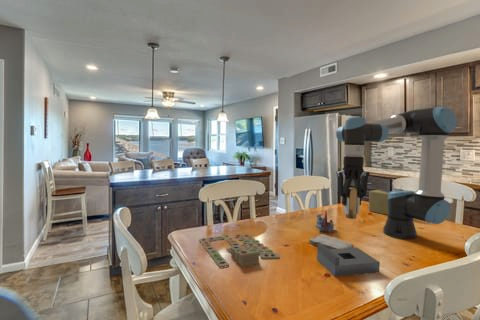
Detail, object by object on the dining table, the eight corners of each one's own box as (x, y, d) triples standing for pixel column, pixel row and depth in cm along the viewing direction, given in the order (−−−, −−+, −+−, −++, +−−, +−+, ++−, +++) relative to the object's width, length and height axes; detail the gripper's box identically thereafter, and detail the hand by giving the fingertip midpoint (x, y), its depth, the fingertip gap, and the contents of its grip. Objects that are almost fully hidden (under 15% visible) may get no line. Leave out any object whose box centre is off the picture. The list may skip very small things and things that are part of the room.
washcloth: (320, 238, 135) (320, 232, 135) (355, 248, 122) (355, 242, 122) (307, 244, 127) (307, 238, 127) (342, 256, 114) (342, 249, 114)
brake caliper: (337, 230, 139) (323, 211, 141) (320, 240, 143) (306, 221, 145) (338, 224, 149) (325, 206, 152) (322, 233, 153) (310, 216, 155)
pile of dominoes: (282, 259, 111) (282, 247, 110) (222, 272, 100) (221, 258, 100) (247, 233, 143) (247, 223, 142) (198, 241, 132) (198, 230, 131)
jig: (356, 256, 113) (357, 240, 112) (379, 272, 99) (379, 254, 98) (317, 259, 109) (317, 243, 109) (334, 276, 96) (335, 257, 95)
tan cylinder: (352, 216, 110) (353, 187, 110) (358, 218, 106) (359, 189, 106) (343, 216, 110) (345, 187, 109) (349, 218, 106) (350, 189, 105)
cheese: (407, 217, 170) (408, 194, 169) (397, 219, 167) (398, 196, 166) (377, 209, 191) (378, 189, 190) (368, 211, 187) (368, 190, 186)
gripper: (339, 156, 102) (336, 216, 103) (378, 156, 104) (376, 215, 106) (329, 155, 109) (327, 211, 110) (367, 155, 112) (364, 210, 113)
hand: (351, 213), depth 108 cm, fingers closed on tan cylinder, 4 cm apart
